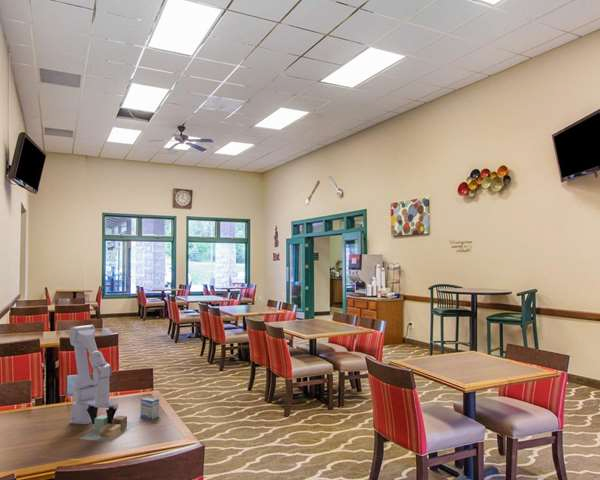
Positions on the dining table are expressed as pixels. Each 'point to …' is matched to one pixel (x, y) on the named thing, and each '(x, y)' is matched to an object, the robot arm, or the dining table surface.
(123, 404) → the dining table surface
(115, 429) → the oak base block
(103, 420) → the sage-green block
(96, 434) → the blueprint board
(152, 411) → the medicine box
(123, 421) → the walnut block
